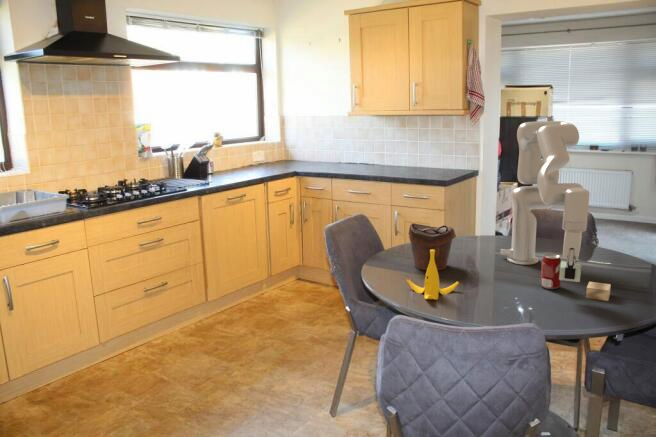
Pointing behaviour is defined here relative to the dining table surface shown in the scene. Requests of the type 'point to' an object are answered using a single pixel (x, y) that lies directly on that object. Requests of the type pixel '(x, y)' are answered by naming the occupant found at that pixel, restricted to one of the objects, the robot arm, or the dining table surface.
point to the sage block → (577, 272)
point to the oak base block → (598, 291)
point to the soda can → (550, 271)
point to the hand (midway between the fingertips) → (570, 274)
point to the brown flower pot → (430, 244)
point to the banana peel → (432, 282)
